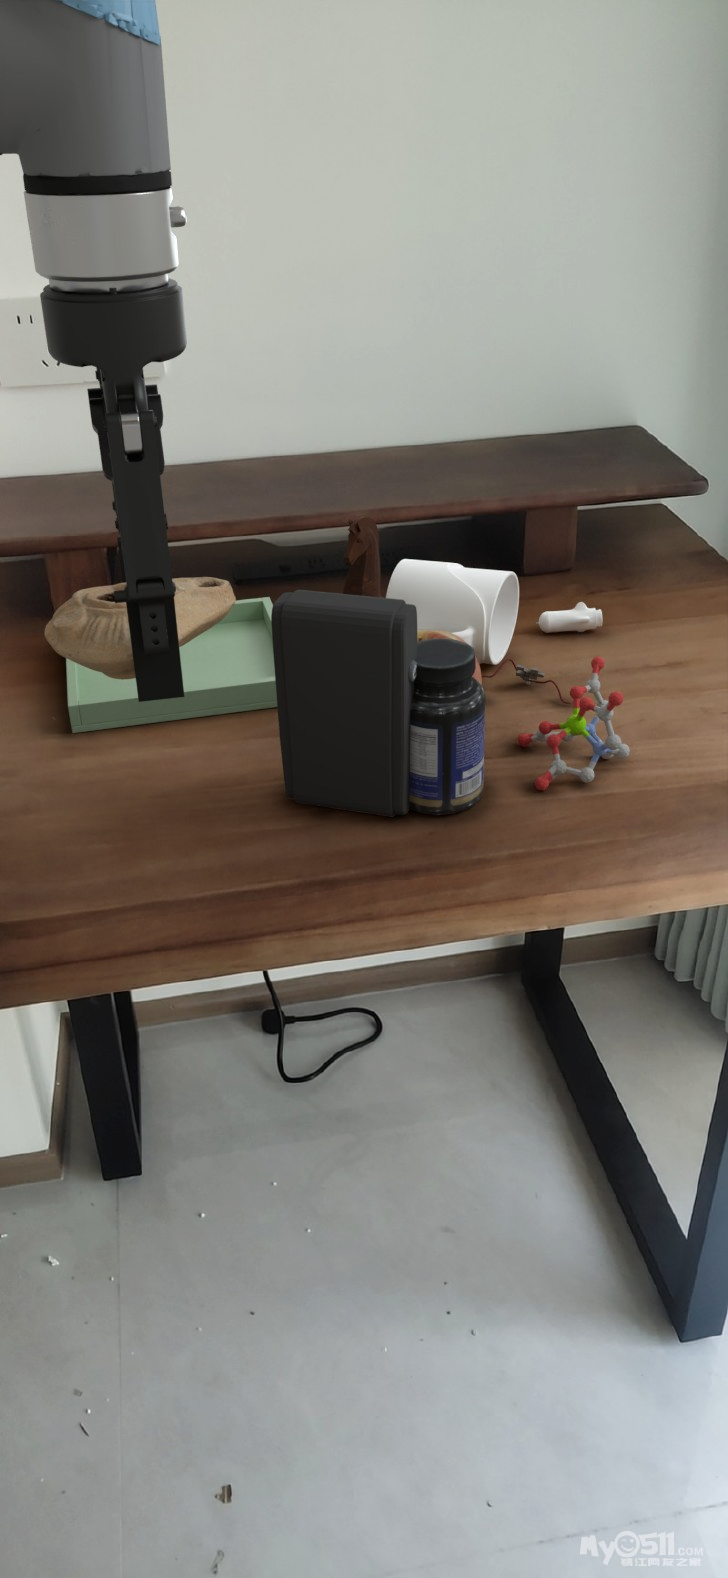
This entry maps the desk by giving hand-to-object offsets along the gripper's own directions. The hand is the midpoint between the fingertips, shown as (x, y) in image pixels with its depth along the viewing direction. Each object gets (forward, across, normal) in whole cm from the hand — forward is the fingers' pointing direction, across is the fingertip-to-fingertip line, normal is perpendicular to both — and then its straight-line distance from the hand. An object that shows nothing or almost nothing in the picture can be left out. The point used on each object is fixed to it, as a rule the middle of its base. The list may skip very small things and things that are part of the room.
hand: (155, 662), depth 75 cm
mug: (+12, +20, -25) cm, 34 cm away
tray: (+12, +24, -3) cm, 27 cm away
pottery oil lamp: (0, +1, 0) cm, 1 cm away
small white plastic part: (+12, +23, -37) cm, 45 cm away
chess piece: (+12, +30, -20) cm, 38 cm away
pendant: (+10, +11, -29) cm, 33 cm away
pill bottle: (+12, -1, -18) cm, 22 cm away
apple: (+12, +7, -20) cm, 24 cm away
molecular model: (+12, 0, -29) cm, 31 cm away
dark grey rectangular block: (+12, 0, -12) cm, 17 cm away
